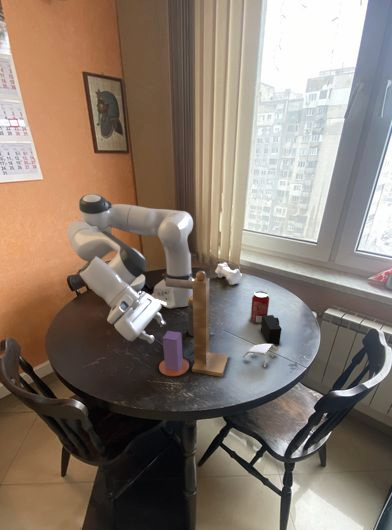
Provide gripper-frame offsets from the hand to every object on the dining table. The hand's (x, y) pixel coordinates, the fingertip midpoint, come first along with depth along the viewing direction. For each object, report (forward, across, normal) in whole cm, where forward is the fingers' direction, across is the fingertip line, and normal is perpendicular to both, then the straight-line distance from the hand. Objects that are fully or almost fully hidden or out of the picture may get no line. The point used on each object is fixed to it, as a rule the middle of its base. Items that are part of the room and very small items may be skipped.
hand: (158, 333), depth 95 cm
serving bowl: (-19, -51, -37) cm, 66 cm away
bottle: (+13, -23, -5) cm, 26 cm away
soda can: (+29, -38, +11) cm, 49 cm away
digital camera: (+33, -26, +15) cm, 45 cm away
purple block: (+6, 0, -3) cm, 6 cm away
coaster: (+12, 0, -6) cm, 13 cm away
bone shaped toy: (+15, -78, -3) cm, 79 cm away
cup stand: (+17, -4, -1) cm, 17 cm away
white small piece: (+32, -11, +14) cm, 36 cm away
